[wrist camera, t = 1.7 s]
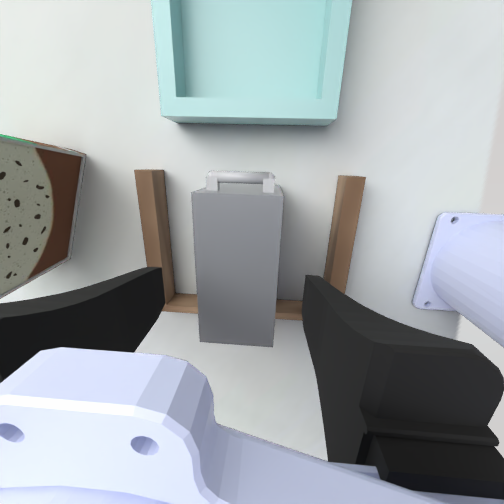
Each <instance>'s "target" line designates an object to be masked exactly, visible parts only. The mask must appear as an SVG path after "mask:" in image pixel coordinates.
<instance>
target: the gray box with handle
mask: <svg viewBox="0 0 504 504" xmlns="http://www.w3.org/2000/svg"><path fill="white" fill-rule="evenodd" d="M240 183H244V184H240ZM191 197H192V214H193V231H194V249H195V266H196V283H197V301H198V318H199V335H200V342H209V343H222V344H236V345H249V346H263V347H273V340H274V326H275V312H276V298H277V284H278V270H279V256H280V242H281V229H282V215H283V201H284V195H283V193H282V190H281V188H280V186H279V185H275V176H274V175H273V174H272V173H270V172H239V171H210V172H209V173H208V175H207V177H206V188H203V189H200V190H197V191H194V192H191Z"/></svg>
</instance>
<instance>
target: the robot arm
mask: <svg viewBox="0 0 504 504" xmlns="http://www.w3.org/2000/svg"><path fill="white" fill-rule="evenodd" d="M453 217H455V220H454V221H453V222H451V219H452V218H453ZM427 301H428V303H427V304H425V302H427ZM165 303H166V301H165V292H164V283H163V274H162V267H145V268H142V269H138V270H135V271H132V272H130V273H127V274H124V275H121V276H118V277H115V278H113V279H110V280H106V281H103V282H100V283H97V284H94V285H91V286H88V287H84V288H81V289H77V290H73V291H69V292H65V293H61V294H56V295H51V296H45V297H40V298H35V299H29V300H23V301H16V302H9V303H1V304H0V504H504V458H503V457H502V455H501V454H500V453H499V452H498V450H497V449H496V448H495V447H494V446H498V444H499V440H498V438H497V437H496V435H495V434H494V433H493V432H492V431H491V429H490V428H489V427H488V426H487V425H488V423H489V421H490V419H491V417H492V416H493V414H494V412H495V410H496V408H497V406H498V404H499V402H500V401H501V397H502V394H503V391H504V378H503V376H502V374H501V372H500V370H499V368H498V367H497V366H495V365H494V364H493V363H492V362H491V361H490V360H489V359H488V358H487V357H485V356H484V355H483V354H482V353H481V352H480V351H479V350H478V349H477V348H476V347H474V346H473V345H472V344H469V343H465V342H461V341H457V340H453V339H450V338H446V337H442V336H438V335H434V334H431V333H428V332H425V331H422V330H419V329H416V328H413V327H410V326H407V325H404V324H402V323H399V322H397V321H394V320H392V319H390V318H387V317H385V316H383V315H380V314H378V313H376V312H374V311H372V310H370V309H368V308H367V307H365V306H363V305H361V304H359V303H358V302H356V301H354V300H353V299H351V298H350V297H348V296H347V295H345V294H344V293H342V292H341V291H339V290H338V289H336V288H335V287H334V286H332V285H331V284H330V283H328V282H327V281H326V280H324V279H323V278H321V277H320V276H313V275H306V276H305V285H304V293H303V302H302V320H303V328H304V332H305V336H306V339H307V343H308V347H309V351H310V354H311V358H312V362H313V365H314V369H315V374H316V378H317V384H318V391H319V397H320V403H321V410H322V417H323V424H324V432H325V440H326V447H327V455H328V461H325V460H322V459H319V458H316V457H313V456H310V455H307V454H304V453H301V452H299V451H296V450H293V449H290V448H287V447H284V446H281V445H278V444H275V443H272V442H269V441H267V440H264V439H261V438H258V437H255V436H252V435H249V434H246V433H243V432H240V431H237V430H235V429H232V428H229V427H226V426H223V425H220V424H217V423H216V421H215V416H214V401H213V393H212V390H211V388H210V385H209V383H208V380H207V377H206V376H205V375H204V374H202V373H201V372H200V371H199V370H197V369H196V368H195V367H194V366H193V365H191V364H190V363H189V362H188V361H185V360H181V359H178V358H174V357H171V356H167V355H157V354H144V353H134V352H135V350H136V349H137V347H138V346H139V345H140V343H141V342H142V340H143V339H144V338H145V336H146V335H147V333H148V332H149V331H150V329H151V328H152V326H153V325H154V323H155V322H156V320H157V319H158V317H159V315H160V313H161V311H162V309H163V307H164V305H165ZM413 305H414V306H415V307H416V308H419V309H433V310H449V311H458V312H459V313H460V314H461V315H463V316H464V317H465V318H467V319H468V320H469V321H471V322H472V323H473V324H474V325H476V326H477V327H478V328H479V329H481V330H482V331H483V332H484V333H486V334H487V335H488V336H490V337H491V338H492V339H493V340H495V341H496V342H497V343H499V344H500V345H501V346H503V347H504V215H503V214H479V213H453V212H445V213H442V214H440V215H439V216H438V218H437V221H436V225H435V228H434V231H433V235H432V238H431V241H430V245H429V248H428V251H427V255H426V258H425V262H424V265H423V268H422V272H421V275H420V278H419V282H418V285H417V288H416V292H415V295H414V299H413Z"/></svg>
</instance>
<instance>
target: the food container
mask: <svg viewBox="0 0 504 504" xmlns="http://www.w3.org/2000/svg"><path fill="white" fill-rule="evenodd" d="M85 159H86V154H84V153H81V152H78V151H75V150H72V149H67V148H62V147H58V146H53V145H48V144H44V143H39V142H34V141H30V140H25V139H20V138H16V137H11V136H6V135H2V134H0V299H1V298H2V297H4V296H6V295H8V294H9V293H11V292H13V291H15V290H17V289H18V288H20V287H22V286H24V285H25V284H27V283H29V282H31V281H32V280H34V279H36V278H38V277H39V276H41V275H43V274H45V273H46V272H48V271H50V270H52V269H53V268H55V267H57V266H59V265H60V264H62V263H64V262H66V261H67V260H69V259H71V252H72V245H73V239H74V232H75V225H76V219H77V212H78V206H79V199H80V192H81V186H82V179H83V172H84V166H85Z"/></svg>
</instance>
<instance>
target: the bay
mask: <svg viewBox="0 0 504 504" xmlns="http://www.w3.org/2000/svg"><path fill="white" fill-rule="evenodd" d="M134 172H135V179H136V187H137V194H138V202H139V209H140V217H141V224H142V232H143V239H144V247H145V254H146V262H147V267H162V274H163V283H164V292H165V301H166V303H165V305H164V307H163V309H162V311H167V312H182V313H197V314H198V301H197V295H196V294H180V293H175V285H174V275H173V264H172V253H171V243H170V232H169V221H168V210H167V200H166V189H165V178H164V170H149V169H148V170H134ZM365 179H366V177H359V176H338V183H337V190H336V197H335V204H334V211H333V217H332V224H331V231H330V238H329V245H328V252H327V259H326V266H325V273H324V280H326V281H327V282H328V283H330V284H331V285H332V286H334V287H335V288H336V289H338V290H339V291H341V292H342V293H344V294H345V289H346V283H347V278H348V272H349V267H350V262H351V256H352V251H353V245H354V240H355V234H356V229H357V223H358V218H359V212H360V207H361V201H362V196H363V190H364V185H365ZM302 302H303V301H293V300H277V299H276V312H275V319H287V320H302ZM302 321H303V320H302Z"/></svg>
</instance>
